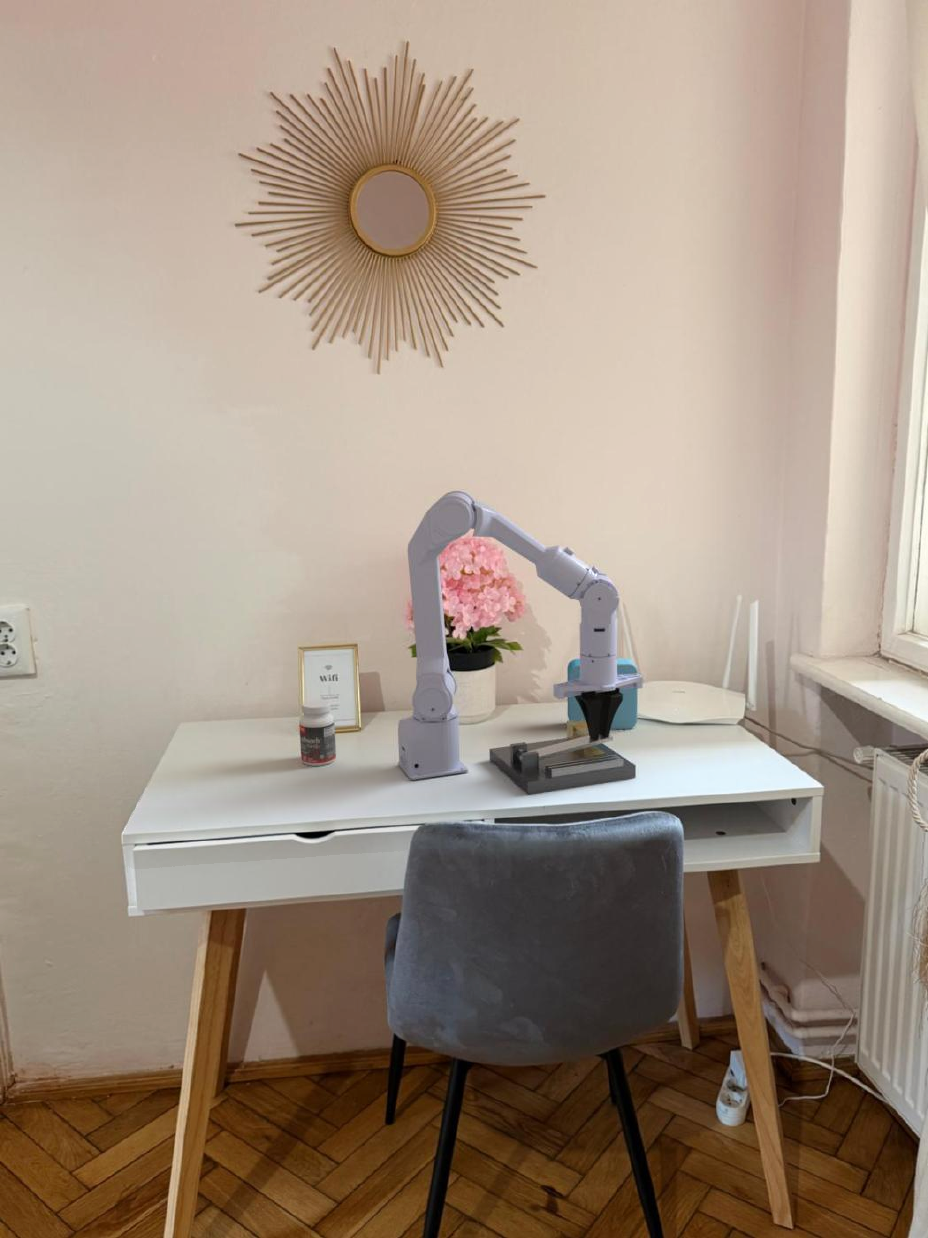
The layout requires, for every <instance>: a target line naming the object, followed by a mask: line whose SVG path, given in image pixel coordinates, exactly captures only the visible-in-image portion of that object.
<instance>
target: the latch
mask: <svg viewBox="0 0 928 1238" xmlns="http://www.w3.org/2000/svg"><path fill="white" fill-rule="evenodd" d="M588 735H589V732H588V727H587V724H586V720H585V719H578V720H570V721H569V720H566V738H567V740H573V739H577V738H580V737H584V736H588Z"/></svg>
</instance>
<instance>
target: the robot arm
mask: <svg viewBox="0 0 928 1238" xmlns="http://www.w3.org/2000/svg"><path fill="white" fill-rule="evenodd" d="M471 529H472V530H473V533H472V537H477V538H481V537H482V538H483V537H484V538H492V539H495V540H496V541H498V542H499V543H500V544H502V545H504V546H505V547H508V548H509V549H510V550H512V551H513V552H515V553H517V554H518V555H519V556H521V557H523V558H524V559H526V560H528V561H530V562H531V563H532V564H534V566H535V569H536V576H537V577H538V578H539V579H541V580H542V581H544V582H546V583H547V584H548V585H550V586H551V587H552V588H554V589H556V590H557V591H558V592H560V593H561V594H563V595H564V596H566V597H567V598H569V599H570V600H577V601H579V606H580V608H581V609H580V610H581V611H580V613H581V614H580V617H581V618H580V619H581V620H580V621H581V622H580V624H579V659H580V678H578V679H575V680H571V681H568V680H567V681H565V682H561V683H553V697H555V699H557V700H563V699H565V698H568V697H570V696H575V698H576V700H577V702H578V704H579V706H580V708H581V710H582V712H583V715H584V717H585V720H586V724H587V727H588V732H589V736H590V737H592V738H593V739H599V734H600V735H602V736H603V737H605V738H606V737H609V735H610V733H611V730H612V729H611V725H612V722H613V719H614V716H615V714H616V712H617V710H618V708H619V706H620V704H621V703H622V701H623V694H622V693H620V690H622V689H629V688H636V689H638V690H639V689H643V688H644V687H643V686H644V685H643V682H644V681H643V676H642V675H641V674H639V673H638V674H625V675H617V658H618V625H617V622H616V620H617V611H616V610H617V608H618V607H619V603H620V598H619V593H618V589H616V586H615V584H614V582H613V581H612V580H611V579H610V578H609V577H608V576H607V575H606V573H604V572H600V569H599V568H598V567H596V566H592V567H591V566H589V565H588V564H586V562H584V561H582V560H581V559H579V558H578V557H577V556H575V555H574V554H575V551H574V550H573V549H572V548H571V547H569V546H566V547H565V548H563V547H562V546H561V545H553V546H546V545H545V544H543V543H542V542H540V541H539V540H537V539H536V538H534V537H533V536H532V535H531V534H529V533H528V532H526V531H525V530H524V529H523V528H521V527H520V526H518V525H517V524H516V523H514V522H513V521H512V520H510V519H509V518H508V517H507V516H505V515H504V514H503V513H501V512H499V511H498V510H497V509H495V508H493V507H491V506H489V505H488V504H486V503H485V502H482V501H481V500H479V499H475V500H474V498H473V497H472V496H471V495H470V494H468V493H467V492H465V491H462V490H461V491H460V490H452V491H449V492H447V493H445V494H444V495H442V497H441V498H438V500H437V501H436V502H435V503H433V505H431V507H430V508H429V509H428V510H427V511H426V512H425V513H424V515H423V517H422V519H421V520H420V523H419V525H418V527H417V528H416V530H415V531H414V534H413V535H412V536H411V539H410V540H409V542H408V545H407V559H408V569H409V571H408V572H409V582H410V593H411V605H412V616H413V629H414V638H415V651H416V672H415V673H416V674H415V676H416V677H415V678H416V686H415V690H414V691H413V694H412V696H411V697H412V698H411V703H412V707H413V710H412V711H413V712H412V715H411V716H408V717H405V718H401V719H399V721H398V726H397V740H398V741H397V742H398V743H397V745H398V761H397V764H398V766H399V767H400V768H401V770H402V771H403V772H404V773H405V775H407V776H408V778H409V779H410V780H411V781H412V780H413V781H414V780H423V779H428V778H434V777H442V776H448V775H456V774H462V773H467V772H468V771H469V768H468V767H467V766H466V765H465V764H464V763H463V762H462V761H461V760H460V734H459V733H460V729H459V726H460V725H459V710H458V708H456V706H455V705H454V697H455V695H456V693H457V690H458V688H457V687H458V683H457V680H456V678H455V676H454V674H453V672H452V671H451V668H450V660H449V656H448V653H447V651H448V650H447V641H446V639H447V638H446V627H445V616H444V605H443V593H442V592H443V591H442V580H441V568H440V567H441V566H440V554H442V552H444V551H445V549H446V548H447V547H448V546H449V544H451V543H452V542H455V541H456V540H458V539H460V538H462V537H463V536H465V535H467V534H468V532H469V531H470V530H471Z"/></svg>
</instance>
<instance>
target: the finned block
mask: <svg viewBox="0 0 928 1238" xmlns="http://www.w3.org/2000/svg"><path fill="white" fill-rule="evenodd" d="M566 741H569V740H567V737H564V738H558V739H556V738H555V739H551V740H544V741H543V740H542V741H537V742H536V741H534V742H529V743H528V742H527V743H526V742H525V741H524V742H523V741H522V742H515V743H510V744H509V746H508V745H507V746H501V747H500V746H499V747H495V748H489V761H490V762H491V763H492V764H493V765H494V766H495V765H496V766H497V767H498V770H499V771H500V772H502V773H503V772H504V773H505V774H506V775H507V776H506V775H505V774H504V773H503V774H504V775H505V776H506V777H508V778H509V779H510V780H511V781H512V782H513V781H514V782H513V783H514V784H515V785H516V786H517V787H519V788H520V789H521V790H522V791H523V792H524V793H525V794H526V795H528V796H530V795H535V794H541V793H547V792H549V793H550V792H555V791H561V790H567V789H573V788H578V787H579V788H580V787H585V786H592V785H597V784H604V783H610V782H611V783H612V782H617V781H624V780H629V779H635V778H636V772H637V771H636V770H637V768H636V767H637V766H636V764H634V763H633V762H631V761H630V760H628V759H627V758H625V757H624V756H622V755H621V754H620V753H618V752H616V751H614V750H613V749H612V748H610V747H608V746H607V745H606V744H605V743H601V744H598V745H594V746H590V747H587V748H583V749H579V750H576V751H572V752H568V753H565V754H561V755H558V756H554V757H550V758H547V759H543V760H539V753H538V752H537V751H534V752H528V751H532V750H536V749H540V748H543V747H547V746H551V745H554V744H558V743H562V742H566ZM520 751H523V752H524V753H522V762H521V761H520V760H519V759H517V753H518V752H520ZM525 752H527V753H525ZM496 766H495V767H496ZM497 767H496V768H497Z"/></svg>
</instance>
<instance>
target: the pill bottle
mask: <svg viewBox="0 0 928 1238" xmlns="http://www.w3.org/2000/svg"><path fill="white" fill-rule="evenodd" d="M331 710H332V709H331V702H330V701H329V700H326V699H310V700H309V699H308V700H307V701H306V700H305V701H304V702H302V703H301V713H303V715H302V716H300V718H299V740H300V745H299V746H300V758H301V762H302V763H303V764H304V765H307V766H310V767H320V766H326V765H330V764H333V763H334V762H335V761H336V758H337V753H336V752H337V751H336V747H337V746H336V729H335V717H334V716H333V715H332V714H331V713H330V712H331Z"/></svg>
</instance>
